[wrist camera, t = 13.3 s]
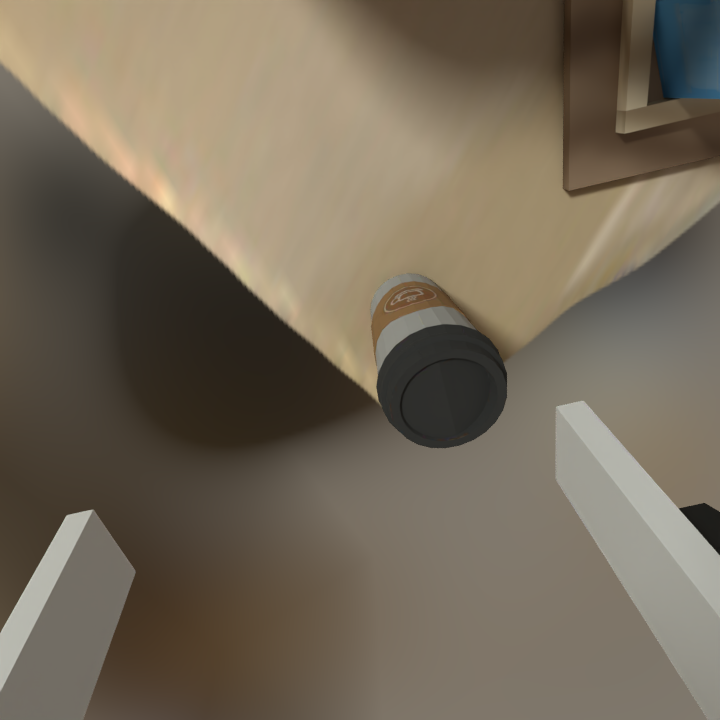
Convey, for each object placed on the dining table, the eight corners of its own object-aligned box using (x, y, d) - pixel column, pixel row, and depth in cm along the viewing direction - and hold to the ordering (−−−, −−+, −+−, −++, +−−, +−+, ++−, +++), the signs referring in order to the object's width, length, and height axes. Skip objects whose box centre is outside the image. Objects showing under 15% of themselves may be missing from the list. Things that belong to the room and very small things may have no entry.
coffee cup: (441, 246, 40) (505, 322, 27) (460, 332, 44) (523, 433, 31) (346, 277, 41) (364, 365, 28) (373, 358, 45) (399, 469, 32)
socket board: (565, -109, 30) (582, -123, 28) (854, -179, 30) (892, -198, 28) (562, 188, 39) (576, 193, 37) (785, 137, 39) (810, 139, 37)
